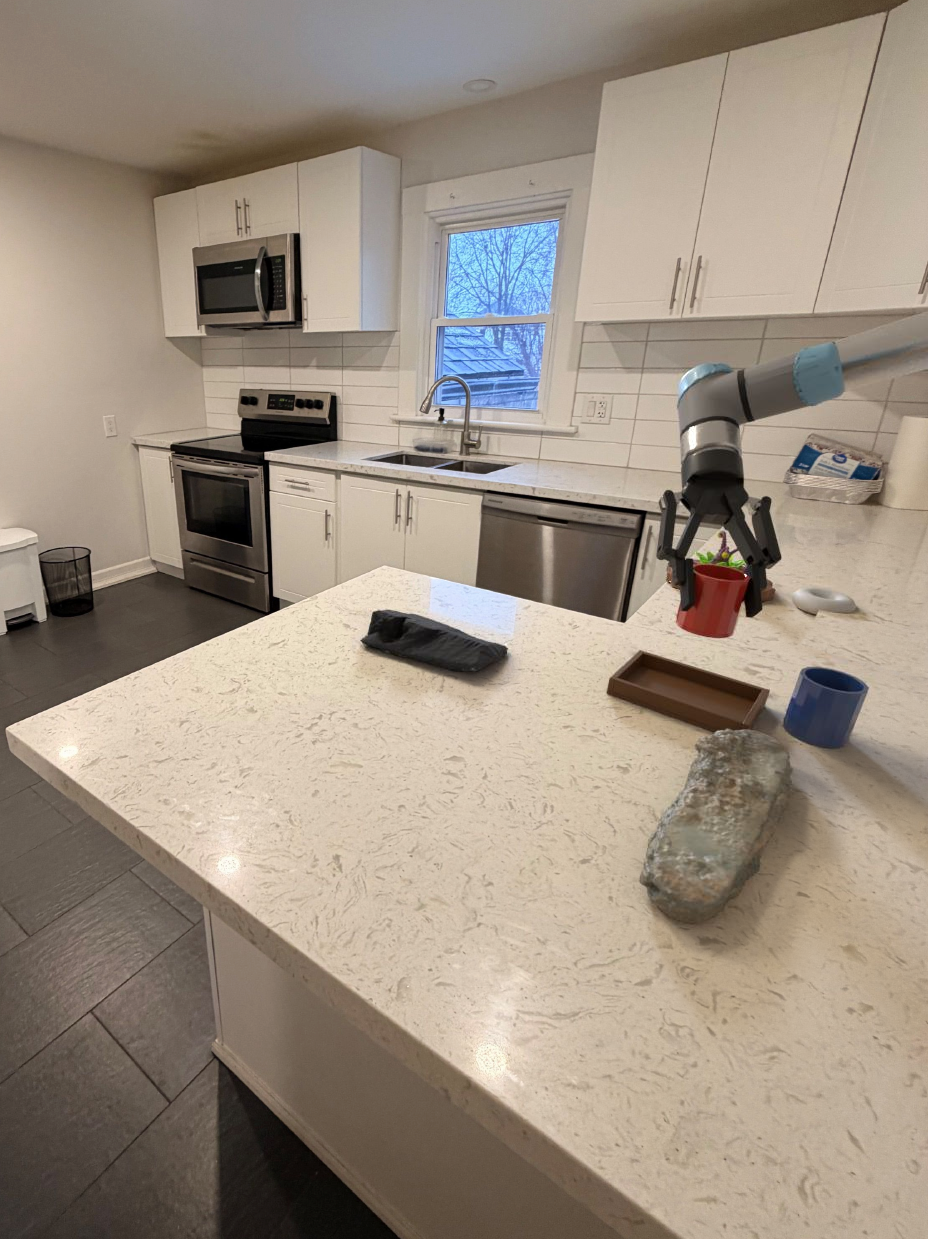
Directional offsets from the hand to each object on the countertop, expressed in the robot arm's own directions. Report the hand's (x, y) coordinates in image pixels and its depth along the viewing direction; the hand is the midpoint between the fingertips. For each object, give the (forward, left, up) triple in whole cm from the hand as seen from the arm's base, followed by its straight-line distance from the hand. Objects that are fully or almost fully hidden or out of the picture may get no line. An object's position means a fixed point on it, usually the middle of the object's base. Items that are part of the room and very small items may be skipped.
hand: (720, 610), depth 83 cm
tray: (+2, -3, -15) cm, 16 cm away
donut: (-7, -59, -16) cm, 61 cm away
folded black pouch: (+37, +9, -16) cm, 41 cm away
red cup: (+2, -3, -4) cm, 5 cm away
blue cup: (-13, -6, -15) cm, 21 cm away
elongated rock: (-9, +22, -16) cm, 28 cm away
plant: (+12, -60, -16) cm, 63 cm away
